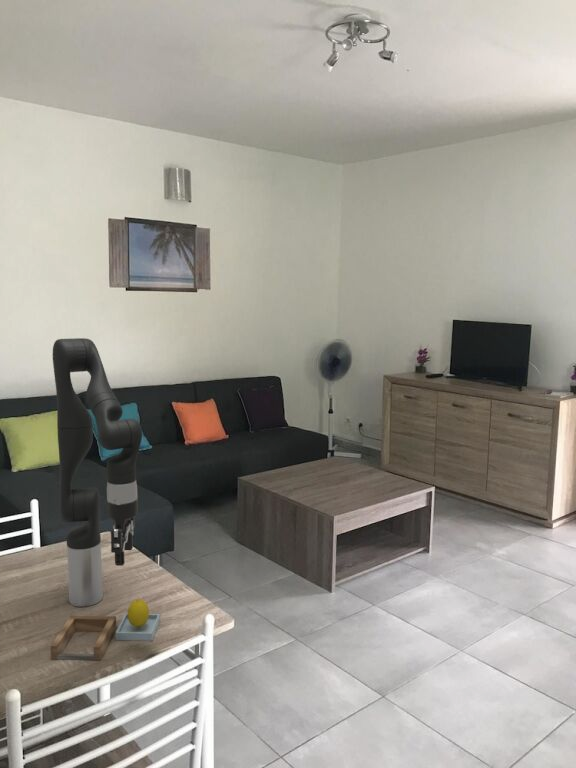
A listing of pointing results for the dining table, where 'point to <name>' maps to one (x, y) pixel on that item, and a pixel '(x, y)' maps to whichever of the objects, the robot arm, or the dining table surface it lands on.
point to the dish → (138, 629)
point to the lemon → (138, 613)
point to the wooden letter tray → (84, 624)
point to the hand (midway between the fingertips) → (124, 557)
